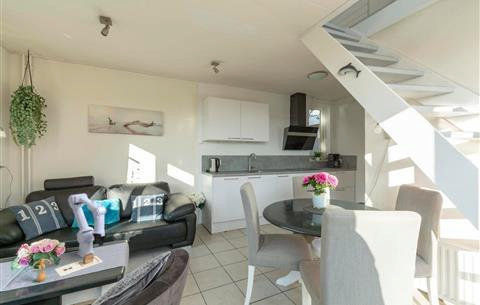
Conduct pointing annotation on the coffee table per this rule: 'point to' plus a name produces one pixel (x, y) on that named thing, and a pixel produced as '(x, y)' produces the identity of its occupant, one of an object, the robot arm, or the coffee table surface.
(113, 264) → the coffee table surface
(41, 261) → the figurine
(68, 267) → the card
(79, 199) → the robot arm
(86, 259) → the stained block
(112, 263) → the coffee table surface
